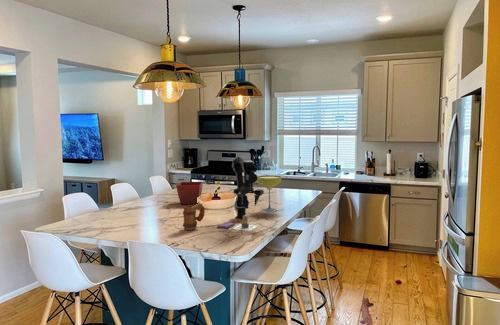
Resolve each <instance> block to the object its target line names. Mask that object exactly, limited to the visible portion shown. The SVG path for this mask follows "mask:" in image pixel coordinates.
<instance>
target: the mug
mask: <svg viewBox="0 0 500 325" xmlns="http://www.w3.org/2000/svg"><path fill="white" fill-rule="evenodd" d="M197 210H198V211H199V214H198V215H197V216H196V213H197ZM205 210H206V209H205V207H204V206H203V204H201V203H199V202H198V204H197V205H183V210H182V215H183V223H182V227H183V229H184V230H186V231H193V230H195V229H197V225H198V222H201V221H202V220H203V219H204V217H205V213H206V211H205Z"/></svg>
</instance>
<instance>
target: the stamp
mask: <svg viewBox="0 0 500 325" xmlns="http://www.w3.org/2000/svg"><path fill="white" fill-rule="evenodd" d="M247 216H248V215H244V216H243V218H242V223H241V224H242V228H249V225H250V224H249V222H248V220H249V219H248V217H247Z"/></svg>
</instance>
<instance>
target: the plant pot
mask: <svg viewBox="0 0 500 325" xmlns="http://www.w3.org/2000/svg"><path fill="white" fill-rule="evenodd" d="M203 184H204V183H203V181H181V182H179V183H177V184H176V185H175V186H176V192H177V196H178V199H179V202H180V205H182V204H197V197H199V196H200V197H201V196H202V192H203V191H202V190H203Z"/></svg>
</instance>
